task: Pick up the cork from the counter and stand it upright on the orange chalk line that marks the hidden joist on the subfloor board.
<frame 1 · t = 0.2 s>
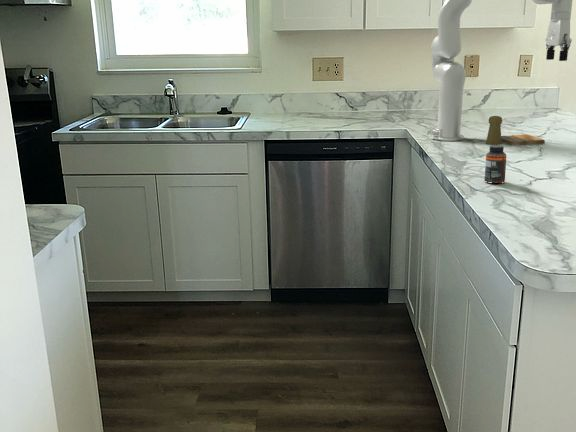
hand: (556, 60, 259), 31 cm above the worktop, tool pointing down, fingers open, 9 cm apart
supplement bottle: (494, 183, 191), on the worktop
cork: (493, 144, 252), on the worktop
subfloor board: (519, 141, 254), on the worktop
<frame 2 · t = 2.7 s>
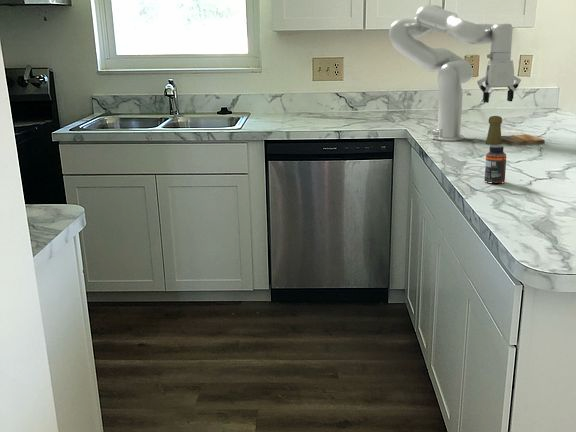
hand: (497, 101, 246), 17 cm above the worktop, tool pointing down, fingers open, 9 cm apart
nothing on the worktop moved.
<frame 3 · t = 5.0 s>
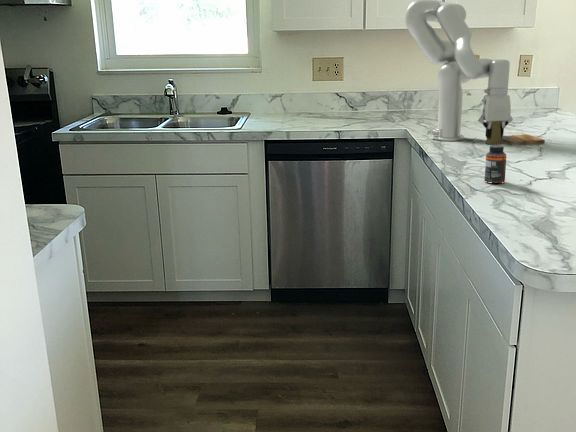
hand: (494, 137, 251), 2 cm above the worktop, tool pointing down, fingers closed on cork, 4 cm apart
cork: (493, 143, 251), on the worktop, touching gripper
everything else where it was.
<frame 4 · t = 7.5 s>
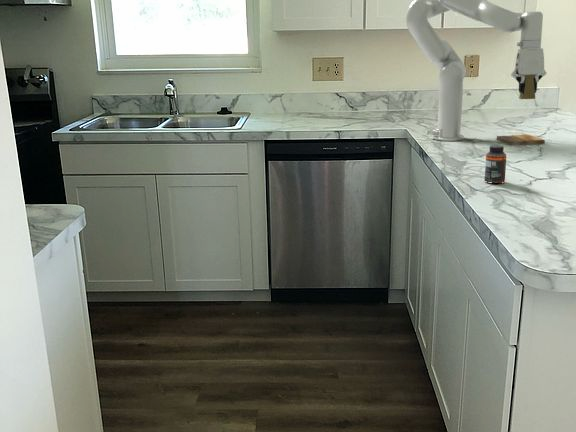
hand: (527, 92, 247), 20 cm above the worktop, tool pointing down, fingers closed on cork, 4 cm apart
cork: (527, 98, 248), point 17 cm above the worktop, touching gripper
everything else where it was.
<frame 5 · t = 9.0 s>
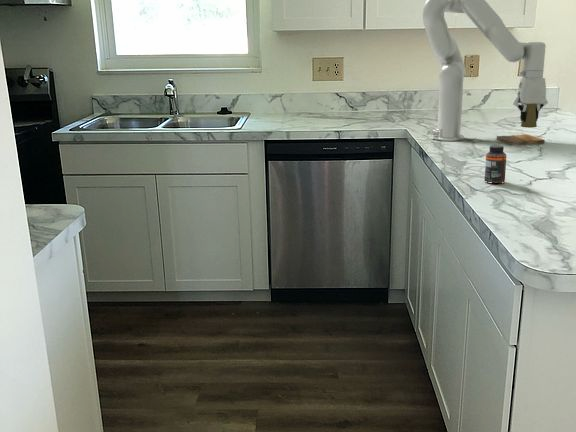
hand: (529, 120, 251), 8 cm above the worktop, tool pointing down, fingers closed on cork, 4 cm apart
cork: (528, 126, 252), point 6 cm above the worktop, touching gripper
everything else where it was.
when the fingers open (5 cm above the worktop, at t = 10.3 s): cork drops 1 cm, resting on subfloor board.
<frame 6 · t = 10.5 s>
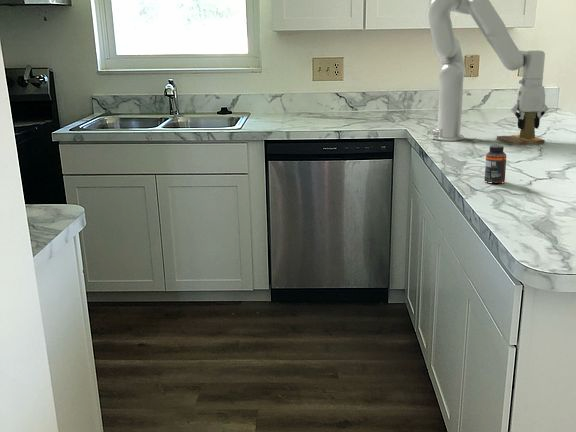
hand: (528, 127, 252), 6 cm above the worktop, tool pointing down, fingers open, 5 cm apart
cork: (526, 137, 253), point 2 cm above the worktop, touching subfloor board
everything else where it was.
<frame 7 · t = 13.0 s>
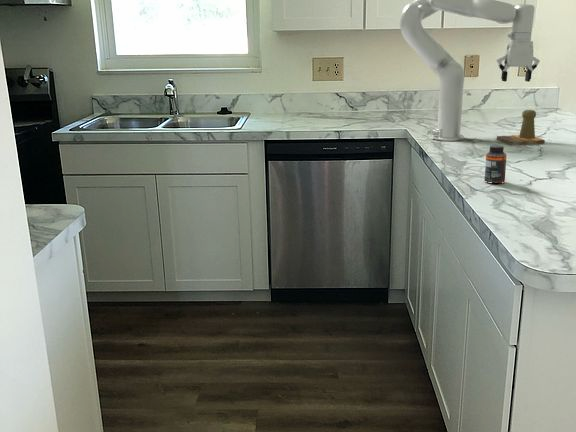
hand: (515, 81, 253), 24 cm above the worktop, tool pointing down, fingers open, 9 cm apart
nothing on the worktop moved.
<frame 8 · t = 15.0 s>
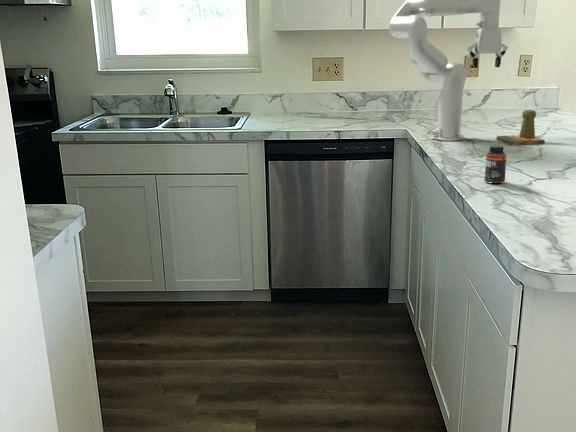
hand: (486, 67, 265), 28 cm above the worktop, tool pointing down, fingers open, 9 cm apart
nothing on the worktop moved.
at the end: cork inside the target area (0.2 cm from its centre), point 1.5 cm above the worktop; cork tilted 0°; the gripper is holding nothing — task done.
